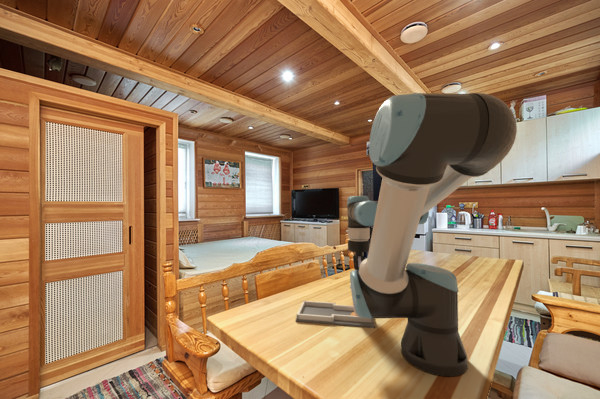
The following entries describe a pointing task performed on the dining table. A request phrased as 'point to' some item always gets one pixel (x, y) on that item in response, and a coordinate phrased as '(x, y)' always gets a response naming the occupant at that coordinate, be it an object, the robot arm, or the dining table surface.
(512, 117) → the robot arm
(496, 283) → the dining table surface
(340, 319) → the keyhole plate
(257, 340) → the dining table surface
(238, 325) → the dining table surface
